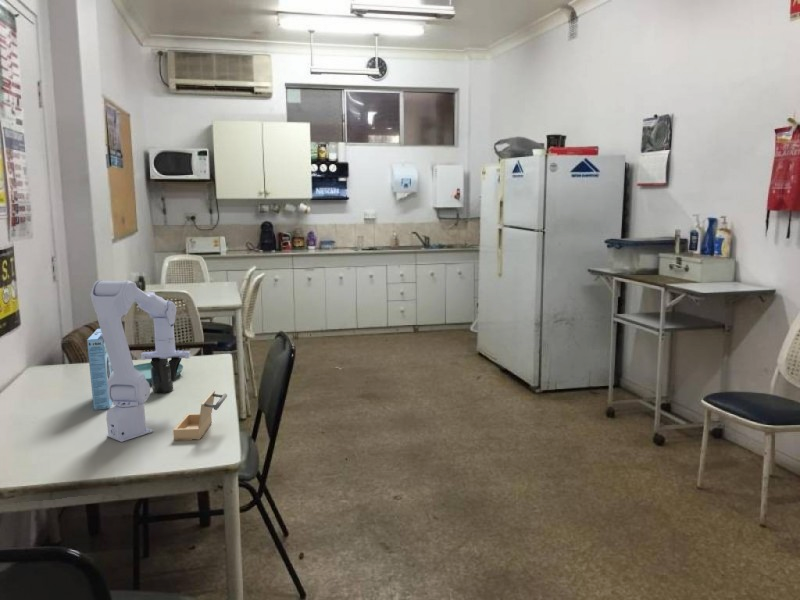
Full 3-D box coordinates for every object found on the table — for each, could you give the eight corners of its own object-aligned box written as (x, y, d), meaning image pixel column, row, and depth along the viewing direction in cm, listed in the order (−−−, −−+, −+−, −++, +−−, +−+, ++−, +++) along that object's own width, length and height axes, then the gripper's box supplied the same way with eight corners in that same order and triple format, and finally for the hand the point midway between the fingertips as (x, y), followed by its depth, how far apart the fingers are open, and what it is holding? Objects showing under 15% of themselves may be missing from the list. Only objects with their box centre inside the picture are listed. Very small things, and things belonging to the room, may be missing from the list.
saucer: (134, 369, 241) (133, 361, 241) (193, 369, 240) (193, 361, 240) (101, 387, 218) (100, 378, 217) (167, 387, 216) (166, 378, 216)
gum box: (109, 408, 193) (103, 338, 190) (92, 410, 192) (85, 339, 188) (118, 391, 211) (113, 327, 208) (102, 393, 210) (96, 328, 207)
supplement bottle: (166, 387, 216) (164, 354, 214) (177, 390, 212) (174, 357, 210) (148, 391, 211) (146, 358, 209) (158, 395, 207) (156, 361, 205)
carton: (173, 440, 166) (173, 429, 165) (187, 424, 178) (187, 414, 178) (199, 439, 166) (199, 429, 166) (211, 423, 179) (211, 413, 178)
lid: (201, 404, 165) (217, 406, 165) (213, 390, 177) (228, 392, 178) (198, 427, 166) (214, 430, 166) (210, 412, 178) (225, 414, 179)
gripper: (192, 335, 192) (194, 376, 194) (145, 336, 192) (148, 377, 194) (185, 340, 185) (188, 383, 187) (137, 341, 185) (140, 384, 187)
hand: (167, 380), depth 190 cm, fingers open, 3 cm apart
